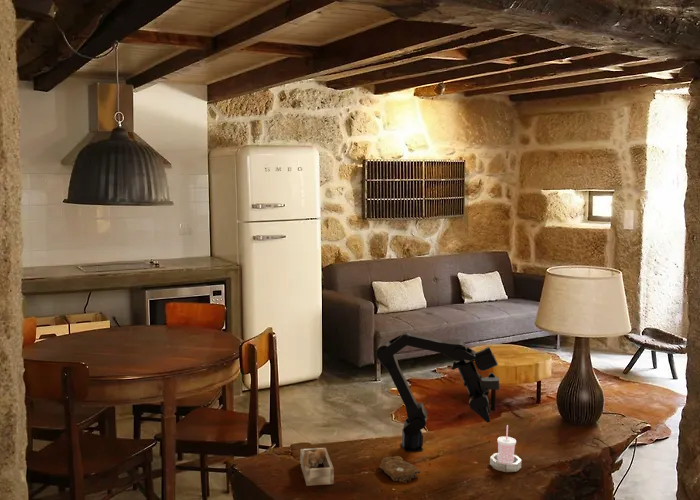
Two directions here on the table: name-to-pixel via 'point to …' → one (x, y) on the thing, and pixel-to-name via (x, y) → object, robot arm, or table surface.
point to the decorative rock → (398, 469)
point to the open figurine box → (317, 470)
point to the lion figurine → (313, 458)
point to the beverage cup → (506, 448)
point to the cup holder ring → (505, 464)
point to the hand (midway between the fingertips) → (488, 417)
